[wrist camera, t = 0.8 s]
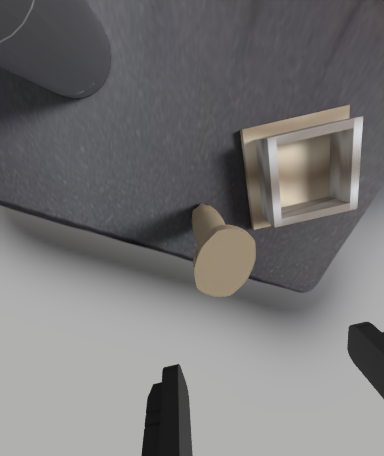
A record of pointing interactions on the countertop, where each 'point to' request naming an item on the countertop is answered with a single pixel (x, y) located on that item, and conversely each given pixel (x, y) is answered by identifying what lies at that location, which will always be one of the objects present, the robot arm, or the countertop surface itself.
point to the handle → (220, 253)
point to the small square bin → (302, 167)
